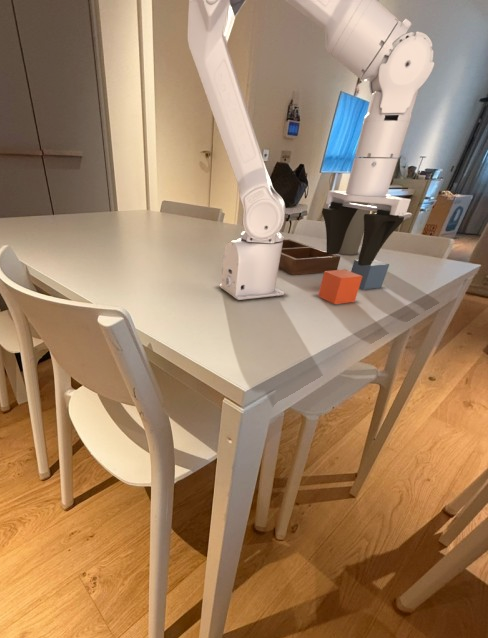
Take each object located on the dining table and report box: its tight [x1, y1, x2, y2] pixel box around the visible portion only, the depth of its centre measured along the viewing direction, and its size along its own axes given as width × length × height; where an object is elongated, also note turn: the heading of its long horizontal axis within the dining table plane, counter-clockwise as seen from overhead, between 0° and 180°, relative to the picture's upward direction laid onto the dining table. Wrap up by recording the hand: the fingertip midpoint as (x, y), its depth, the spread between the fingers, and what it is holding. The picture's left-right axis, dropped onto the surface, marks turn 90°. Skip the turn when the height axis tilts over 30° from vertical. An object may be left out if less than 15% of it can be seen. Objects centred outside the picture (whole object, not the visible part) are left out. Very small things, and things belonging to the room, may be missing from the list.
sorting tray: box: [278, 238, 341, 276], centre depth 80 cm, size 20×12×3 cm, turn 20°
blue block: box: [350, 259, 390, 291], centre depth 65 cm, size 4×4×4 cm
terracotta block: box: [317, 268, 363, 305], centre depth 58 cm, size 4×4×4 cm
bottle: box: [338, 202, 371, 256], centre depth 86 cm, size 6×6×15 cm
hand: (347, 259), depth 56 cm, fingers open, 7 cm apart
